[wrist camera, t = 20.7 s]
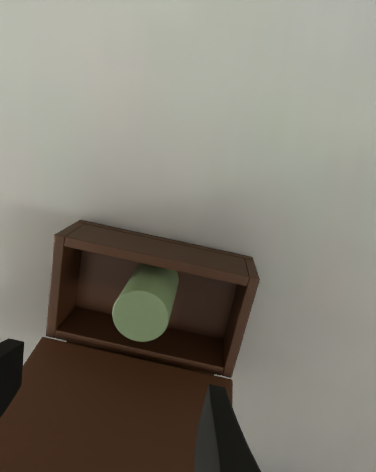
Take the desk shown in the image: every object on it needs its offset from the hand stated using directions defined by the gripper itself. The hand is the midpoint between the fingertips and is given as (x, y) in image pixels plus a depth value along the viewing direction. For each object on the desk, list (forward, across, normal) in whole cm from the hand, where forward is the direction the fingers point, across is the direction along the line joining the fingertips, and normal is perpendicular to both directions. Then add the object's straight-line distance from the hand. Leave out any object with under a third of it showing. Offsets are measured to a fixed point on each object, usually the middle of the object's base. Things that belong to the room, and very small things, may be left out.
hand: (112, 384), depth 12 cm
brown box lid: (+3, 0, +5) cm, 5 cm away
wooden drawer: (+10, 0, +1) cm, 10 cm away
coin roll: (+10, 0, 0) cm, 10 cm away
